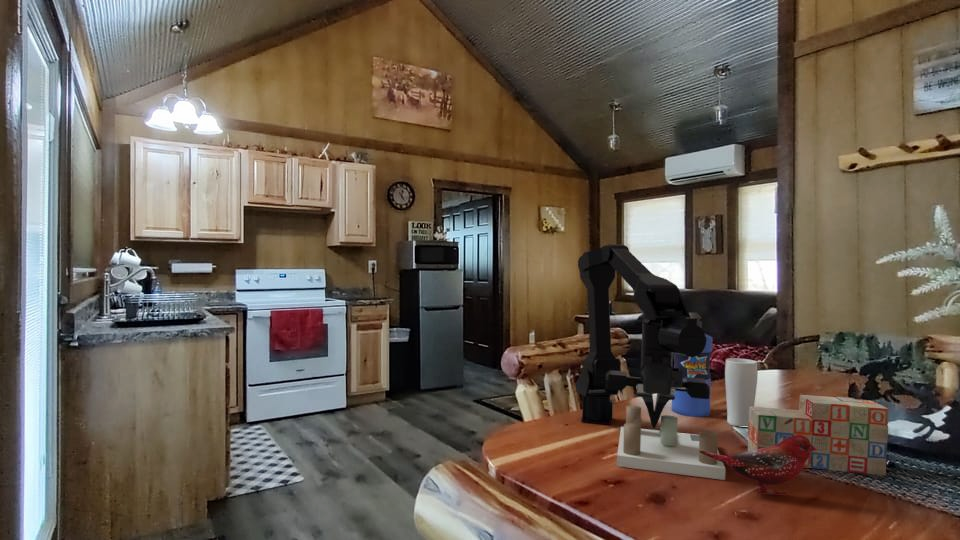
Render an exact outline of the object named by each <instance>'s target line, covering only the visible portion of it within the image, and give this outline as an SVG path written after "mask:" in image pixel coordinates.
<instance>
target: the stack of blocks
mask: <svg viewBox="0 0 960 540" xmlns="http://www.w3.org/2000/svg"><path fill="white" fill-rule="evenodd" d="M798 405H799V406H798V407H799V408H798V409H787V408H777V407H765V406H764V407H762V406H754V407H752V406H750V407H749V424H748V428H747V429H748V430H747V436H748V437H747V444H748V445H747V451H751V450H756V449H762V448H768V447H772V446H775V445H777V444H779V443H780V442H782V441H783V440H784V439H786V438H788V437H791V436H795V435H803V436H805V437H806V438H807V439H808V440H809V441H810V444H811V445H812V446H813V447H815V448H816V449H817V451H816V450H814V451H811V452H810V455H809V457H808V459H807V460H806V462H805V464H804V466H803V468H805V469H816V470H817V469H818V470H826V471H827V470H829V471H839V472H846V473H847V472H848V473H859V474H867V475H876V476H877V475H879V476H886V475H887V452H888V451H887V450H888V440H889V424H888V420H889V418H888V417H889V408H888V407H886V406H884V405H882V404H880V403H877V402H876V401H873V400H869V399H868V400H867V399H855V398H854V397H845V396H844V397H842V396H835V397H834V396H822V395H818V396H817V395H810V394H809V395H806V394H800V395H799V404H798Z"/></svg>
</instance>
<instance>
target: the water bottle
mask: <svg viewBox="0 0 960 540" xmlns="http://www.w3.org/2000/svg"><path fill="white" fill-rule="evenodd" d="M689 314H690V317H691V318H696V319H697V325H698V326H699V327H701V329H702V328H703V327H702V324H703V323H702V321H700V320H701V319H702V317H701V315H699V313H698V312H693V311H692V312H691V311H689ZM705 337H706V346H705V348H704V350H703V351H702V353H701V354H699V355H698V356H695V357H688V356H685V355H681V354H677V353H674V352H673V361H674V364H673V365H674V366H673V368H682V369H683V381H684V382H685V377H691V378H702V379H704V380H705V381H706V382H707V383H708V385H709V388H710V395H709V399H700V398H691V397H690V396H689V394H688V393H687V392H684V391H675V393H674V396H675V400H671V411H672V412H673V413H675V414H677V415H680V416H687V417H692V418H693V417H694V418H702V417H703V418H705V417H708V416H710V415H711V386H712V383H711V381H712V378H711V372H710V363H711V358H712V357H711V356H712V352H713V340H714V339H713V337H712V336H710V335H708V334H706V333H705Z"/></svg>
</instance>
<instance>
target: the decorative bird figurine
mask: <svg viewBox="0 0 960 540" xmlns="http://www.w3.org/2000/svg"><path fill="white" fill-rule="evenodd" d="M814 450H816V451H817V449H816V448H815V447H813V446H812V445H811V444H810V441H809V440H808V439H807V438H806V437H805V436H803V435H795V436H791V437H788V438H786V439H784V440H783V441H782V442H780V443H779V444H777V445H775V446H772V447H768V448H762V449H756V450H751V451H748V450H747V451H743V452H740V453H736V454H734V455H731V456H728V455H722V454H720V453H719V454H720V455H719V454H714V453H710V452H705V451H699V452H700V453H702V454H704V455H707V456H709V457H711V458H714V459H716V460H719V461H721V462H723V464H724V465H727V466H728V467H729V468H730V469H732V471H734V472H735V473H736V474H737V475H738V476H740V477H743V478H746V479H747V480H749V481H752V482H753V483H754V484H755V485H756V486H758V487H759V488H756V489H754V490H753V491H752V492H754V493H755V492H758V494H765V495H767V494H768V495H772V496H777V495H789V493H788V492H784V491H783V492H780V491H778V490H775V489H774V490H772V489H769V488H768V487H767V486H778V485H782V484H786V483H787V482H790V481H792V480H793V479H795V478H796V477H797V476H799V474H800V473H801V472H802V470H803V469H804V467H803V466H804V464H805V462H806V460H807V459H808V457H809V455H810V452H811V451H814Z"/></svg>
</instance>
